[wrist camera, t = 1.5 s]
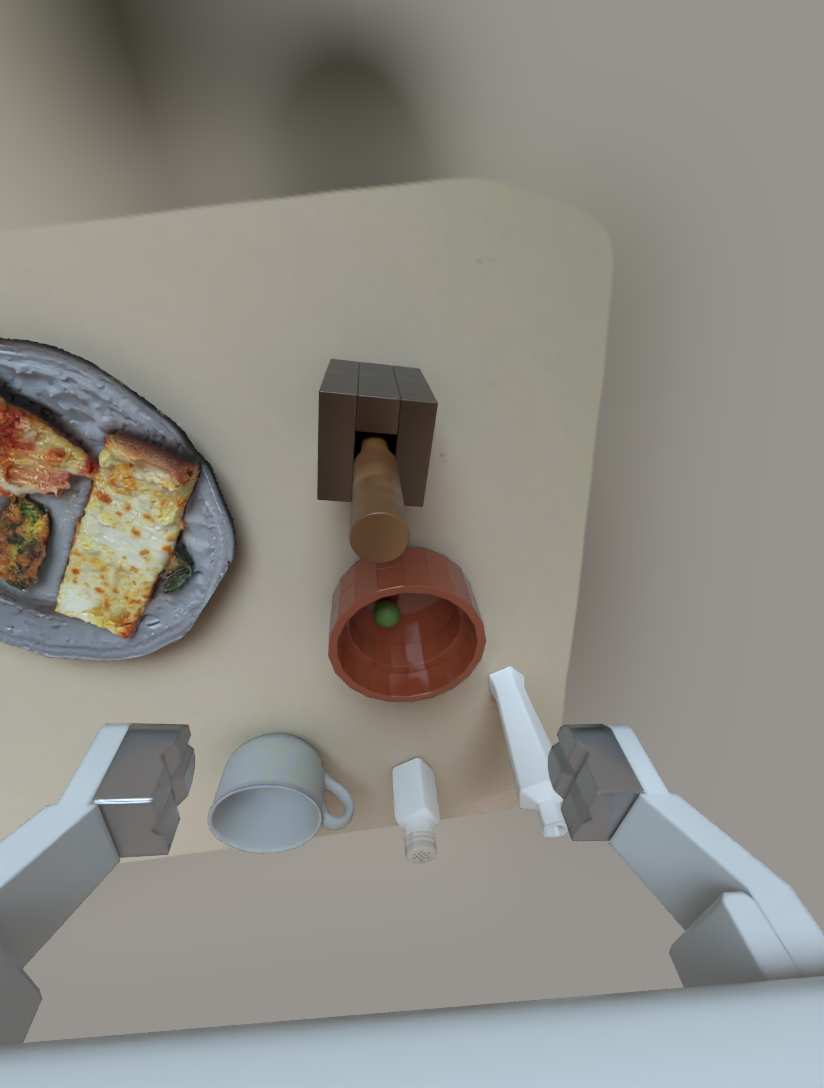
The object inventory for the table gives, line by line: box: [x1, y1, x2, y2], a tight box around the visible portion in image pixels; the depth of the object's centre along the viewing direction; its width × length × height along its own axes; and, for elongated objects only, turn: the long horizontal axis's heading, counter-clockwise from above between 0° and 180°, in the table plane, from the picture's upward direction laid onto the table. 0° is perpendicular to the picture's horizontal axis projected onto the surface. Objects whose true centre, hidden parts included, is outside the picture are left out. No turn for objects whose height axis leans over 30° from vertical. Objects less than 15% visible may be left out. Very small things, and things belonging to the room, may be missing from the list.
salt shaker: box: [392, 758, 440, 863], centre depth 51 cm, size 4×4×10 cm
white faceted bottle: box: [489, 667, 568, 837], centre depth 42 cm, size 5×4×15 cm
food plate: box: [0, 338, 236, 662], centre depth 33 cm, size 25×23×4 cm
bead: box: [373, 600, 401, 628], centre depth 40 cm, size 2×2×2 cm
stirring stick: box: [350, 432, 409, 563], centre depth 25 cm, size 2×2×18 cm
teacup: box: [208, 733, 354, 853], centre depth 48 cm, size 14×11×8 cm
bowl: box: [328, 547, 486, 702], centre depth 39 cm, size 12×12×6 cm
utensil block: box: [317, 359, 438, 507], centre depth 28 cm, size 6×6×9 cm
